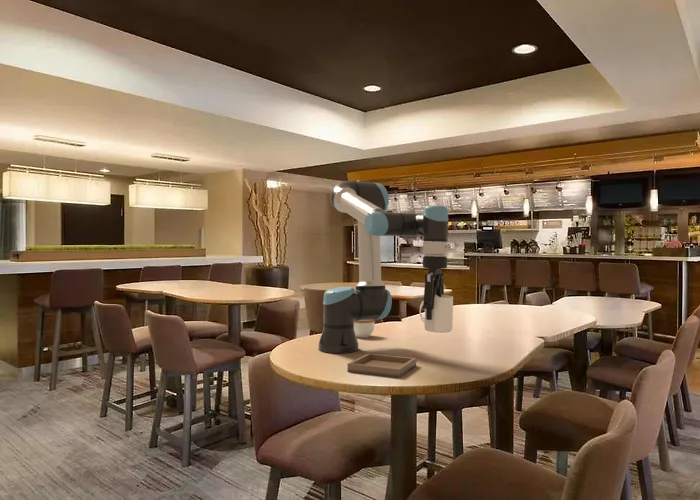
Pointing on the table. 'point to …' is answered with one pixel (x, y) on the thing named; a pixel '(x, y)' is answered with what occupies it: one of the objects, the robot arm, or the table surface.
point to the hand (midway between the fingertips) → (433, 327)
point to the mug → (442, 314)
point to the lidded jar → (364, 328)
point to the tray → (382, 365)
